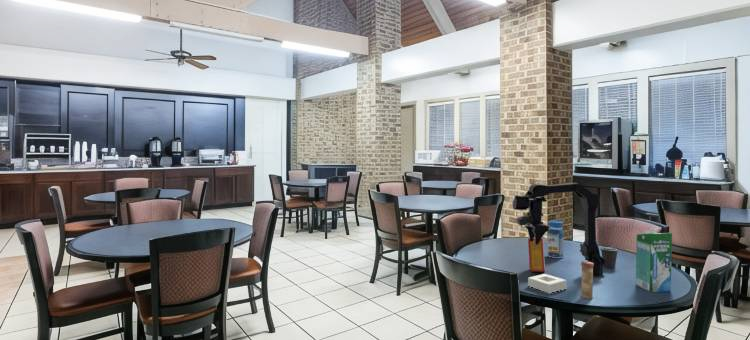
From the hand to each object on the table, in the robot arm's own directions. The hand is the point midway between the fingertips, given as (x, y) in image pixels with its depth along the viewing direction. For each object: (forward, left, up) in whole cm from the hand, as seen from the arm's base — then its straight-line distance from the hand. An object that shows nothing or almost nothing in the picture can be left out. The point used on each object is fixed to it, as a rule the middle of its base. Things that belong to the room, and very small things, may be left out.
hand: (533, 242), depth 194 cm
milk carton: (-45, +17, -16) cm, 51 cm away
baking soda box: (-4, -6, -15) cm, 17 cm away
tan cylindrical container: (-12, +28, -16) cm, 35 cm away
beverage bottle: (-24, -35, -16) cm, 45 cm away
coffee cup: (-43, -15, -16) cm, 48 cm away
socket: (0, +17, -16) cm, 24 cm away
